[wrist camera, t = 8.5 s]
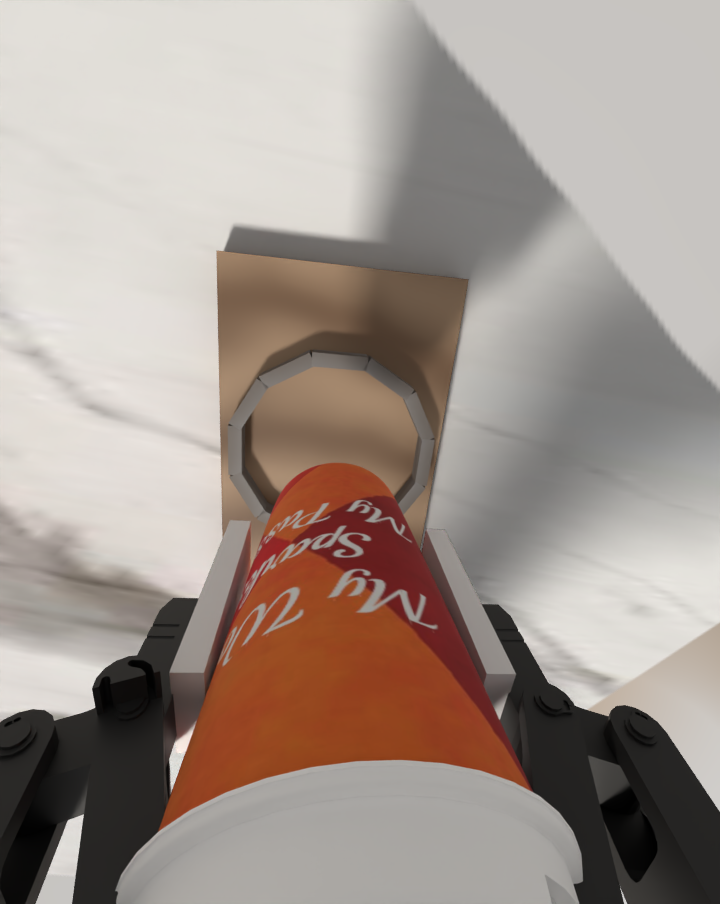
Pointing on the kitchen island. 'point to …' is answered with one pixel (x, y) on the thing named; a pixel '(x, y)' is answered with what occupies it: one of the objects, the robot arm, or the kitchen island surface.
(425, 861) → the paper cup
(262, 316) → the seat board
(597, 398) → the kitchen island surface
